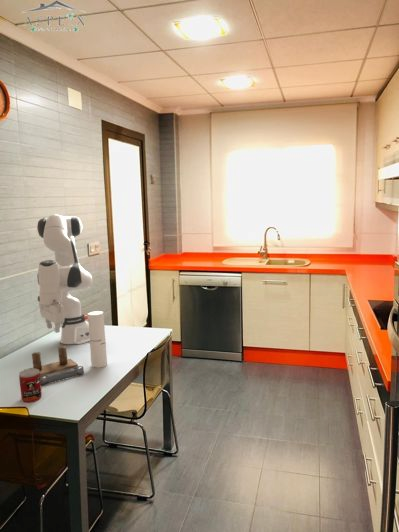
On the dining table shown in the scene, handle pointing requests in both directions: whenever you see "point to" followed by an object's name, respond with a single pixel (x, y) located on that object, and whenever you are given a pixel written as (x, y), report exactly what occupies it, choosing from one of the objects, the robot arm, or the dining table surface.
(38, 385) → the canned food
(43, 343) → the dining table surface
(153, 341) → the dining table surface
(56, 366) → the spanner rest
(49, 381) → the metal bar
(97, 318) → the cylindrical container
